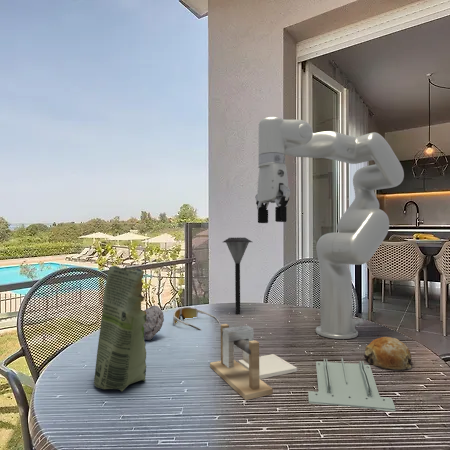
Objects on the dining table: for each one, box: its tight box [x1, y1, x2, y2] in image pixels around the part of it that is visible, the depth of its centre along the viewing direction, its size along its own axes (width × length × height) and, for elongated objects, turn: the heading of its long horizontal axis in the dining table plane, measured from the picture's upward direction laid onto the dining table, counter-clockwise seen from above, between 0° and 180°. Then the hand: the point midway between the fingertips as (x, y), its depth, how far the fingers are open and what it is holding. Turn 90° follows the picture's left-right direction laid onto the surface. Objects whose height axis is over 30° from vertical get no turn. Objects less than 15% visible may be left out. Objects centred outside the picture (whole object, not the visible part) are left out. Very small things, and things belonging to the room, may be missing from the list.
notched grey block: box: [223, 324, 255, 368], centre depth 74 cm, size 6×3×8 cm, turn 115°
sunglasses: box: [172, 306, 221, 331], centre depth 121 cm, size 14×15×5 cm
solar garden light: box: [222, 237, 253, 315], centre depth 135 cm, size 12×12×30 cm
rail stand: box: [209, 323, 274, 401], centre depth 74 cm, size 18×6×10 cm, turn 25°
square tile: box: [237, 353, 298, 380], centre depth 81 cm, size 10×10×1 cm
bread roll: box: [363, 336, 413, 371], centre depth 83 cm, size 10×10×8 cm
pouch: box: [93, 264, 147, 392], centre depth 73 cm, size 11×12×25 cm
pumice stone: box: [143, 305, 165, 341], centre depth 103 cm, size 10×8×10 cm
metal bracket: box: [307, 357, 397, 412], centre depth 68 cm, size 14×6×15 cm
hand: (271, 222), depth 97 cm, fingers open, 9 cm apart
